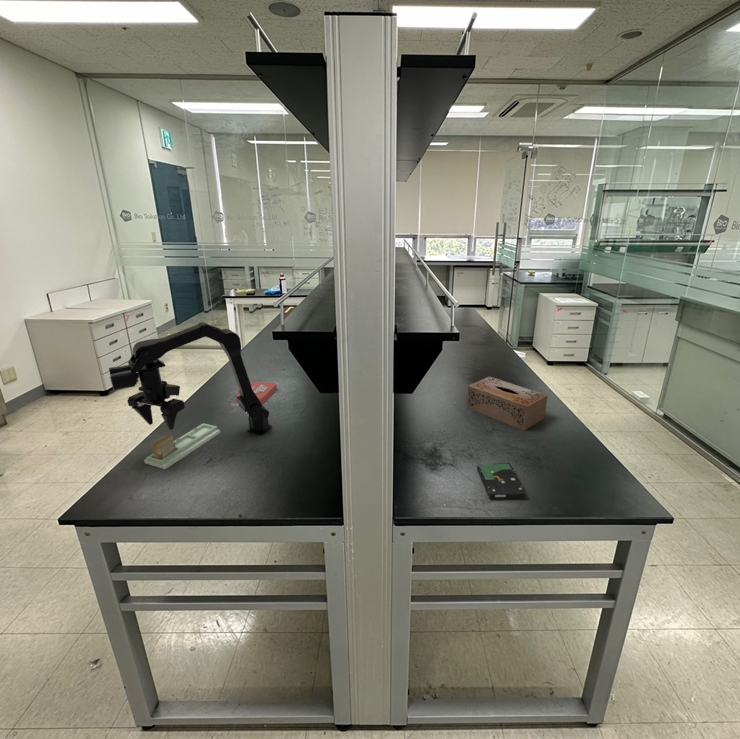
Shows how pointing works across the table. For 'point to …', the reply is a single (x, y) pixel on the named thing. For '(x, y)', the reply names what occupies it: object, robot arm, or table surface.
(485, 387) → the tissue box cover
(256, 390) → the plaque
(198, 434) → the rail board
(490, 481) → the disk drive
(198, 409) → the table surface
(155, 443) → the tan rectangular box
